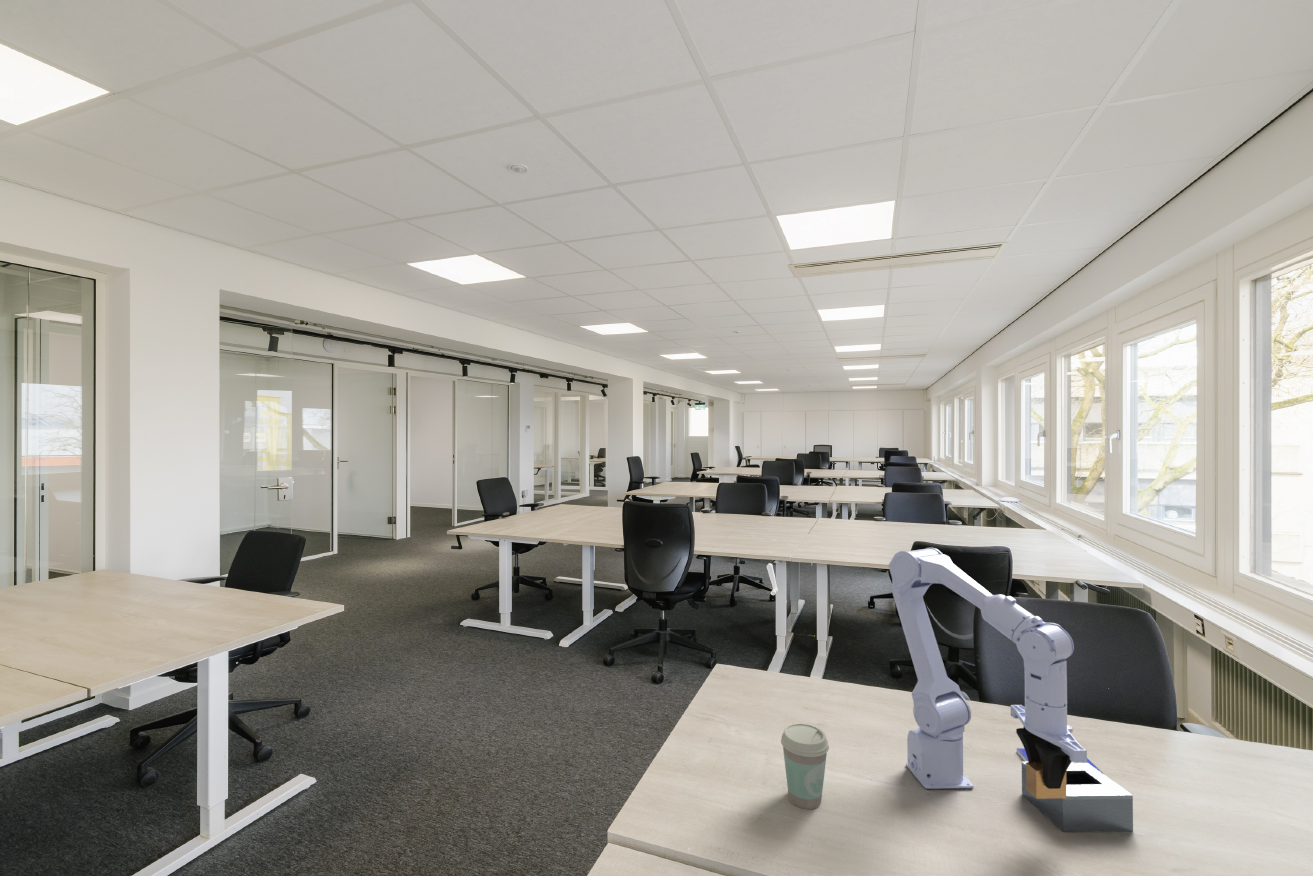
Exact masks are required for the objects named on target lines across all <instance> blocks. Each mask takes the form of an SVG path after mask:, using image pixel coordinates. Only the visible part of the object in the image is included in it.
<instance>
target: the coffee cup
mask: <svg viewBox="0 0 1313 876" xmlns="http://www.w3.org/2000/svg"><path fill="white" fill-rule="evenodd" d="M780 738H781V739H780V744H781V745H782V749H783V759H784V768H785V776H786V785H787V786H786V787H787V793H788V799H789V801H790V802H791V803H792V804H793V805H795V806H797V807H798V808H801V809H805V810H806V809H807V810H812V809H816V808H818V807H820V805H821V804H822V799H823V790H824V782H825V781H824V780H825V772H826V763H827V755H828V751H829V750H830V746H829V740H828V739H827V736H826V733H825V732H824V731H823V730H822V729H821V728H819V727H817V726H816V725H814V724H809V723H804V722H803V723H801V722H799V723H798V722H797V723H796V722H795V723H791V724H788V725H786V726H785V728H784V730H783V733H782V734H781V737H780Z"/></svg>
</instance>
